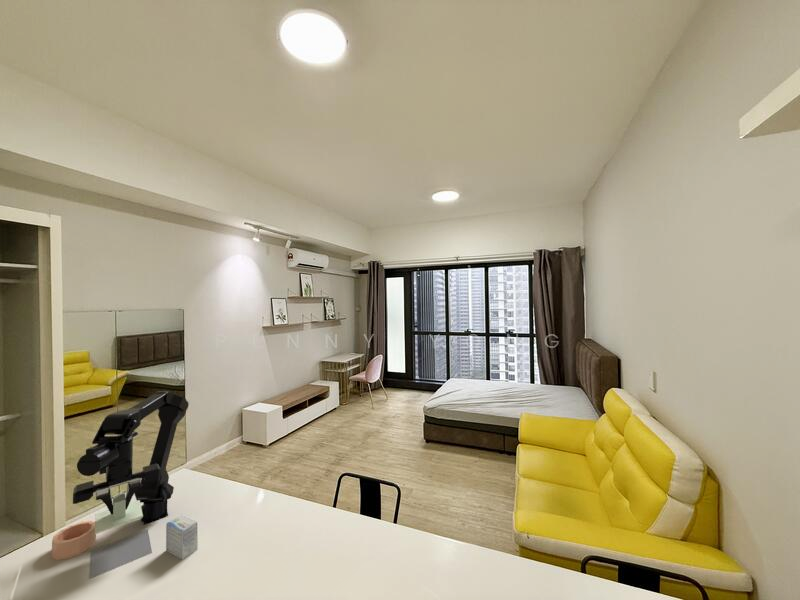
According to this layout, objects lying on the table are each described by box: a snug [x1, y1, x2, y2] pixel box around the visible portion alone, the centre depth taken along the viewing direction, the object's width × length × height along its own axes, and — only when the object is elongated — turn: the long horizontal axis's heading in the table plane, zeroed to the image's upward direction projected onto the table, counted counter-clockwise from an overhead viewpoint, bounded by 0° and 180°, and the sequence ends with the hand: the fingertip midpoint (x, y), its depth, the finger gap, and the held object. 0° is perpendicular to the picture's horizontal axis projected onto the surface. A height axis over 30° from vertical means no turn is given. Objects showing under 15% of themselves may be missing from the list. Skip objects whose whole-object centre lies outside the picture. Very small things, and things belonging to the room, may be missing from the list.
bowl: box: [51, 520, 97, 561], centre depth 94 cm, size 9×9×5 cm
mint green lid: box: [94, 491, 143, 535], centre depth 92 cm, size 10×10×6 cm
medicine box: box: [165, 514, 199, 560], centre depth 93 cm, size 8×4×9 cm, turn 65°
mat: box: [88, 528, 153, 580], centre depth 92 cm, size 13×13×1 cm
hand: (119, 511), depth 92 cm, fingers closed on mint green lid, 3 cm apart
